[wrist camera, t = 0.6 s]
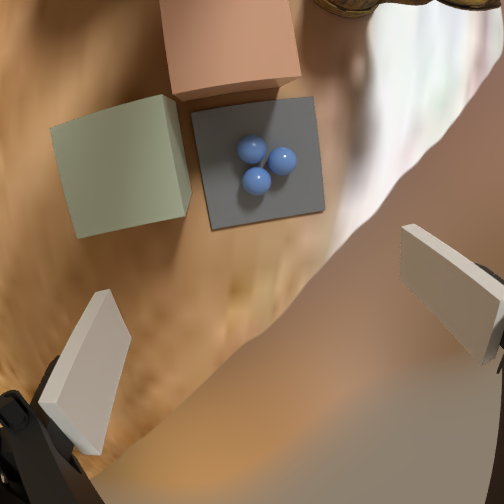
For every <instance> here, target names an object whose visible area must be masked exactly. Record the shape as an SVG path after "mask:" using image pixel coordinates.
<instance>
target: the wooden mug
mask: <svg viewBox="0 0 504 504" xmlns="http://www.w3.org/2000/svg"><path fill="white" fill-rule="evenodd" d="M313 1H314V2H315V3H316V4H318V5H319V6H321V7H322V8H323V9H325V10H327V11H329V12H331V13H333V14H336V15H339V16H342V17H348V18H357V17H361V16H365V15H367V14H369V13H372V12H373V11H374V10H375V9H376V8H377V7H378V5H379V4H382V3H386V2H387V3H398V4H405V5H415V6H417V5H425V4H427V3H429V2H431V1H432V0H313ZM437 1H439V2H441V3H442V4H445V5H448V6H450V7H454V8H457V9H462V10H470V11H486V10H491V9H495V8H499V7H500V6H501V2H500V0H437Z"/></svg>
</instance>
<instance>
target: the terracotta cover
mask: <svg viewBox="0 0 504 504" xmlns="http://www.w3.org/2000/svg"><path fill="white" fill-rule="evenodd" d="M159 3H160V11H161V19H162V27H163V35H164V42H165V49H166V56H167V63H168V69H169V76H170V82H171V89H172V94H173V95H174V96H176V97H177V98H179V99H180V100H182V101H183V102H184V101H189V100H194V99H199V98H204V97H210V96H216V95H222V94H228V93H235V92H242V91H250V90H258V89H266V88H276V87H281V86H283V85H285V84H287V83H289V82H291V81H293V80H295V79H297V78H299V77H301V70H300V64H299V58H298V52H297V46H296V40H295V34H294V29H293V23H292V18H291V13H290V8H289V3H288V0H159Z"/></svg>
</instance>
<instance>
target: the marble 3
mask: <svg viewBox="0 0 504 504" xmlns="http://www.w3.org/2000/svg"><path fill="white" fill-rule="evenodd" d="M296 165H297V158H296V155H295V154H294V152H293V151H292V150H290V149H289V148H286V147H278V148H275V149H274V150H272V151H271V153H270V154H269V156H268V166H269V168H270V170H271V171H272V172H273V173H275V174H277V175H280V176H284V175H288V174H290V173H292V172H293V171H294V169H295V167H296Z"/></svg>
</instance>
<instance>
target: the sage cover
mask: <svg viewBox="0 0 504 504" xmlns="http://www.w3.org/2000/svg"><path fill="white" fill-rule="evenodd" d="M50 132H51V137H52V142H53V147H54V152H55V157H56V162H57V166H58V171H59V175H60V179H61V183H62V187H63V191H64V195H65V199H66V203H67V206H68V210H69V213H70V217H71V220H72V224H73V227H74V230H75V234H76V237H77V239H80V238H85V237H89V236H93V235H98V234H102V233H107V232H111V231H116V230H120V229H125V228H130V227H134V226H139V225H144V224H149V223H154V222H159V221H164V220H169V219H174V218H179V217H184V216H185V215H186V212H187V209H188V205H189V202H190V199H191V196H192V189H191V184H190V179H189V173H188V168H187V163H186V158H185V152H184V147H183V141H182V136H181V130H180V124H179V118H178V112H177V107H176V101H174V100H172V99H170V98H168V97H167V96H165V95H163V94H160V95H156V96H152V97H148V98H144V99H140V100H136V101H132V102H129V103H125V104H121V105H118V106H114V107H111V108H108V109H104V110H101V111H98V112H95V113H92V114H89V115H86V116H83V117H80V118H77V119H74V120H71V121H68V122H66V123H63V124H60V125H57V126H55V127H52V128H50Z"/></svg>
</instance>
